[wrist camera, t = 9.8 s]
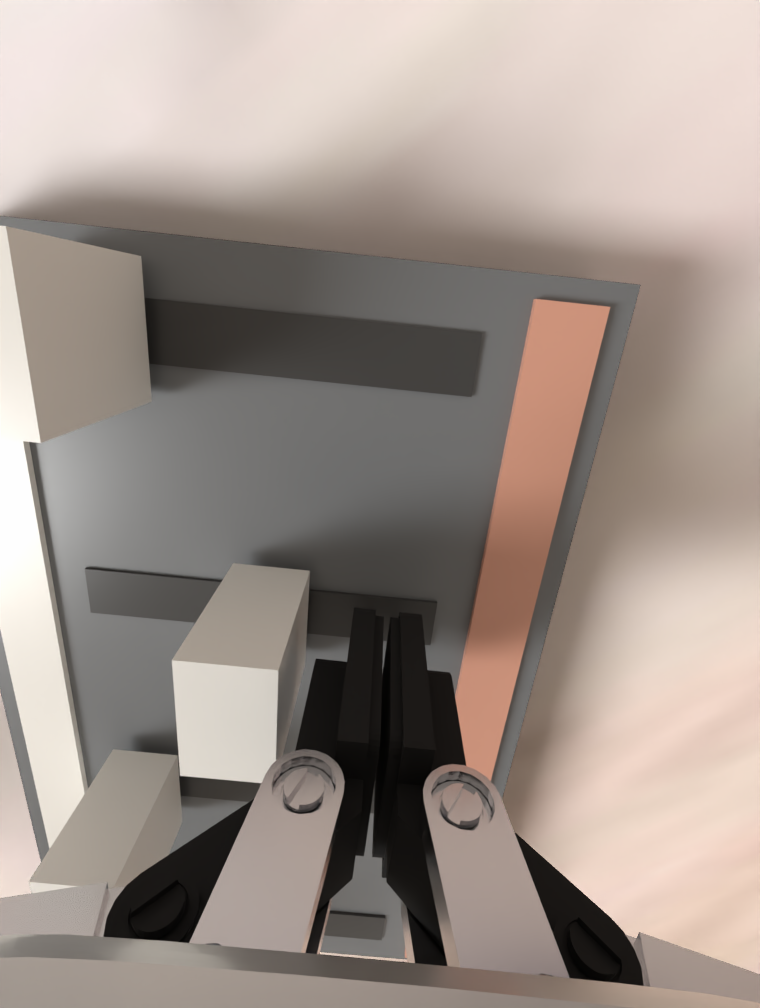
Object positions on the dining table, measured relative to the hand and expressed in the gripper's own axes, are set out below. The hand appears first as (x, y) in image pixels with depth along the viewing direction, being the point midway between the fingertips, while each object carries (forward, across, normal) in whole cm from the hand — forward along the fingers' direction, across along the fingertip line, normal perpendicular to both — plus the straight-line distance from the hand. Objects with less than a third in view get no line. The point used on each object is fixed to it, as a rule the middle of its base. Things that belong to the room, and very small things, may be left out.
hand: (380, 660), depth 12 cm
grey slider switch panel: (+4, +3, +4) cm, 7 cm away
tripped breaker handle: (+1, +3, 0) cm, 3 cm away
